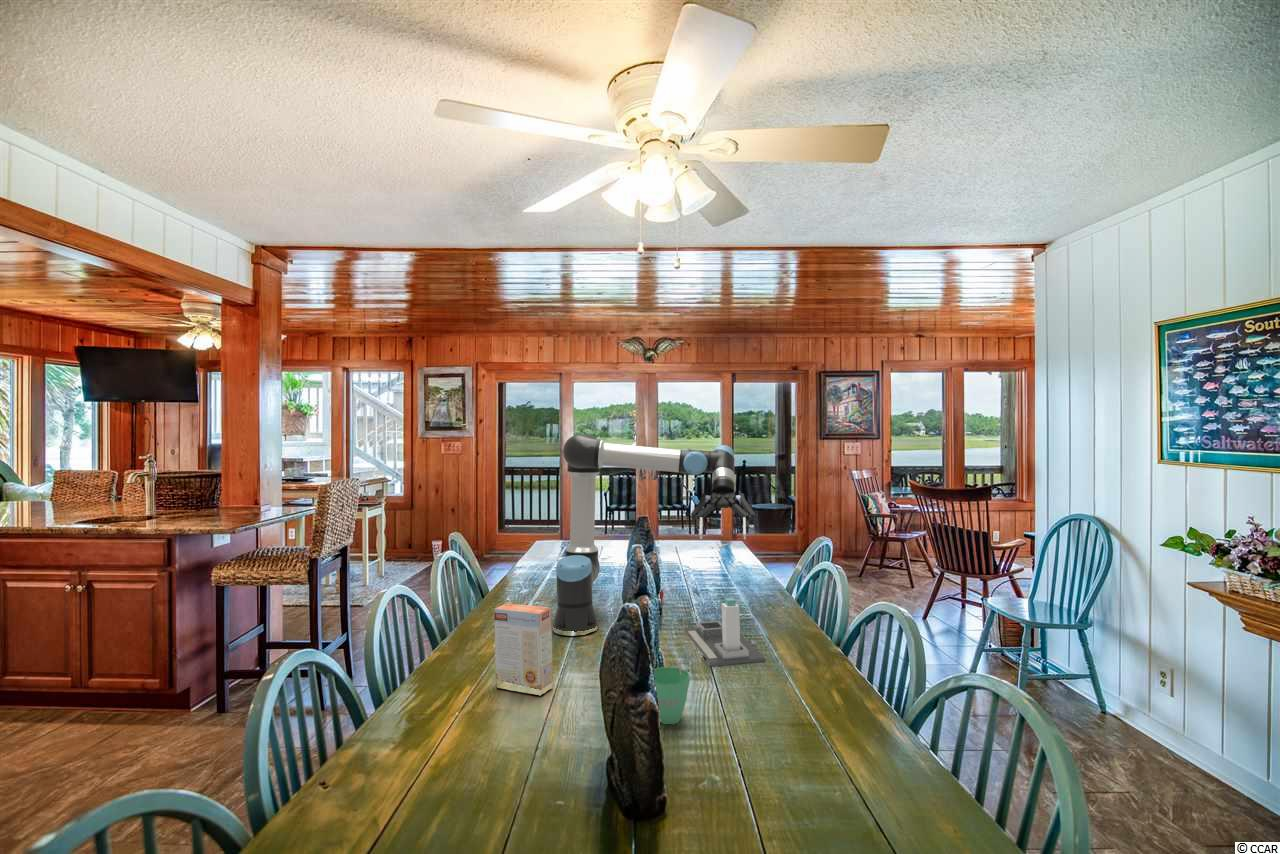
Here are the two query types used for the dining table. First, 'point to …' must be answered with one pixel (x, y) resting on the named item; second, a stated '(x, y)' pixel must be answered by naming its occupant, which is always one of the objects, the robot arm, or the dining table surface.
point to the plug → (730, 625)
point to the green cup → (671, 693)
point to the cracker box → (523, 645)
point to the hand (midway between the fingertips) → (722, 536)
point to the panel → (720, 646)
